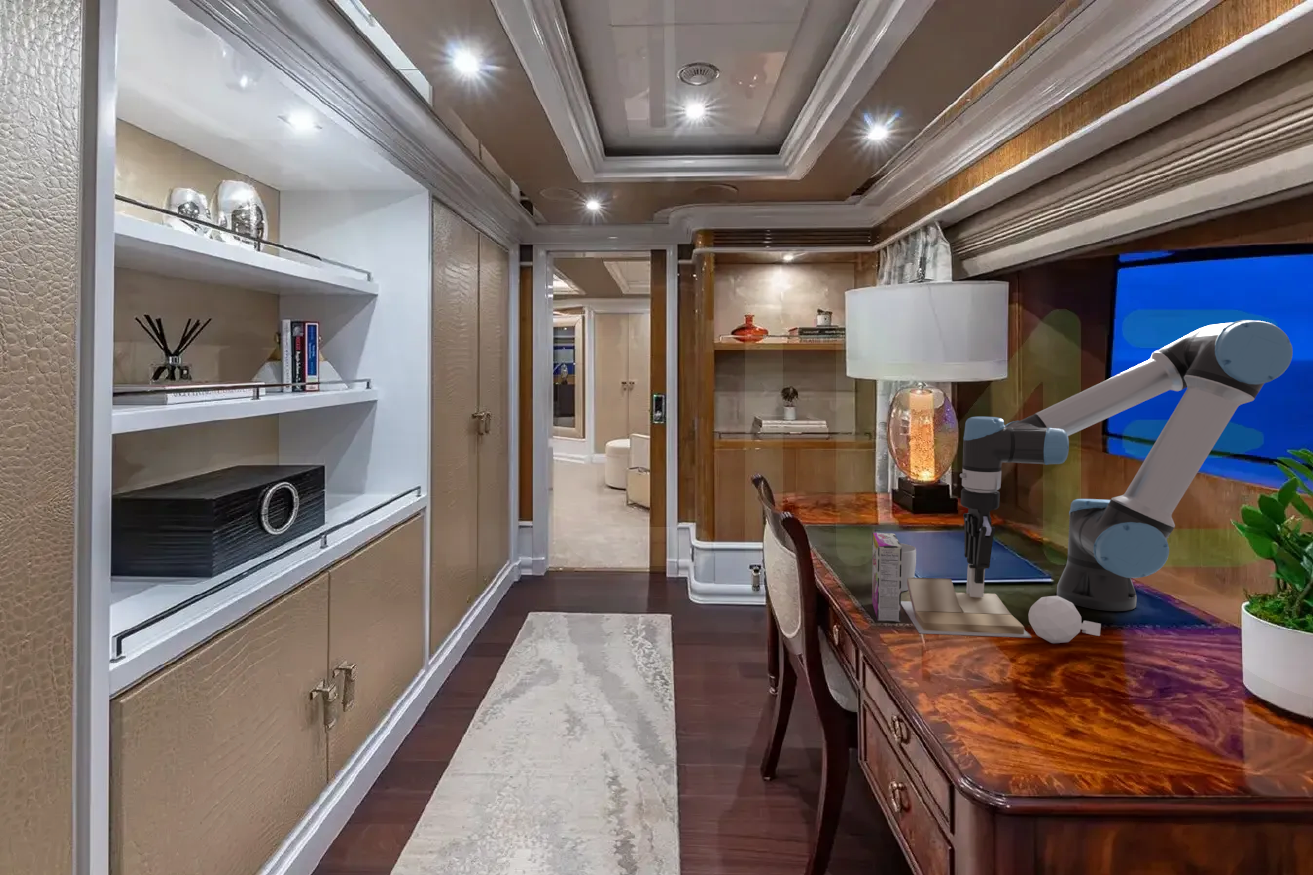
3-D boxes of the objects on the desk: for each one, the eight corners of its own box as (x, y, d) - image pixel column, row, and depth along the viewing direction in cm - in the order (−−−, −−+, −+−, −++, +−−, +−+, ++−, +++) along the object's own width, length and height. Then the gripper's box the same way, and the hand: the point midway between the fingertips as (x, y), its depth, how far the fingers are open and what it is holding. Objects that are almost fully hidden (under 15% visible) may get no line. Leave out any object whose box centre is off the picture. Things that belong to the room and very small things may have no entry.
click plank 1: (949, 583, 150) (951, 578, 150) (959, 616, 143) (961, 612, 143) (906, 581, 152) (907, 577, 151) (914, 614, 145) (915, 610, 144)
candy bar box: (870, 603, 154) (872, 532, 152) (893, 604, 153) (895, 532, 151) (875, 621, 143) (877, 544, 141) (901, 623, 142) (903, 546, 140)
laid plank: (1010, 621, 141) (1011, 614, 141) (1023, 633, 135) (1024, 626, 135) (915, 617, 144) (915, 611, 144) (923, 630, 137) (923, 622, 137)
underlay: (997, 605, 151) (997, 604, 151) (1031, 637, 134) (1031, 636, 134) (899, 602, 154) (899, 601, 154) (919, 633, 136) (919, 631, 136)
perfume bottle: (1031, 639, 128) (1103, 654, 125) (1036, 590, 130) (1108, 604, 126) (1020, 636, 136) (1088, 650, 133) (1025, 590, 138) (1093, 603, 134)
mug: (909, 596, 158) (910, 554, 157) (870, 589, 163) (871, 548, 162) (923, 581, 169) (924, 542, 168) (886, 575, 174) (887, 537, 173)
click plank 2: (994, 599, 150) (995, 593, 150) (1010, 620, 142) (1010, 614, 141) (951, 598, 152) (951, 592, 151) (963, 618, 143) (964, 612, 143)
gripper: (952, 482, 154) (947, 583, 157) (973, 495, 140) (967, 606, 143) (987, 482, 153) (981, 584, 156) (1011, 496, 139) (1005, 607, 142)
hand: (974, 594), depth 149 cm, fingers closed
